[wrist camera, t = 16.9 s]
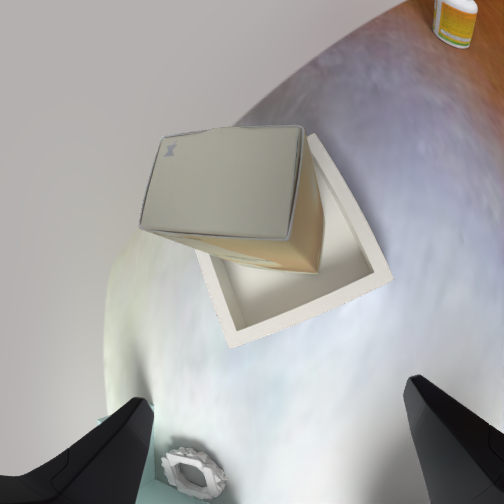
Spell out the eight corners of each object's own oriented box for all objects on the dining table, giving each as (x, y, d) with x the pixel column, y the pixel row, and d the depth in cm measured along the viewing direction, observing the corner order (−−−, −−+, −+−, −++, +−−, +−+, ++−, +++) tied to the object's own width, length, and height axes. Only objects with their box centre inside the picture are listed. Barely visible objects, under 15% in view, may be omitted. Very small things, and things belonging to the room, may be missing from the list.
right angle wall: (243, 515, 18) (213, 556, 11) (151, 477, 22) (111, 502, 15) (258, 438, 20) (222, 483, 13) (149, 400, 24) (97, 419, 17)
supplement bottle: (476, 51, 17) (489, -3, 8) (445, 48, 18) (454, -12, 9) (455, 27, 18) (461, -24, 9) (425, 25, 20) (427, -31, 10)
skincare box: (241, 267, 21) (128, 231, 10) (249, 213, 22) (154, 134, 11) (324, 277, 19) (291, 245, 8) (330, 218, 20) (304, 119, 8)
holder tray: (387, 282, 18) (394, 279, 16) (244, 343, 21) (229, 349, 18) (319, 151, 22) (314, 132, 19) (198, 214, 25) (180, 203, 22)
